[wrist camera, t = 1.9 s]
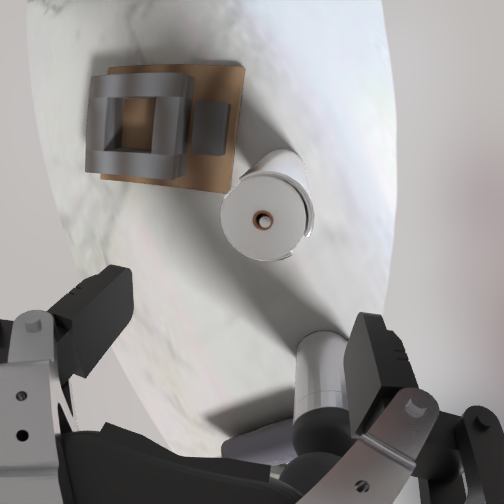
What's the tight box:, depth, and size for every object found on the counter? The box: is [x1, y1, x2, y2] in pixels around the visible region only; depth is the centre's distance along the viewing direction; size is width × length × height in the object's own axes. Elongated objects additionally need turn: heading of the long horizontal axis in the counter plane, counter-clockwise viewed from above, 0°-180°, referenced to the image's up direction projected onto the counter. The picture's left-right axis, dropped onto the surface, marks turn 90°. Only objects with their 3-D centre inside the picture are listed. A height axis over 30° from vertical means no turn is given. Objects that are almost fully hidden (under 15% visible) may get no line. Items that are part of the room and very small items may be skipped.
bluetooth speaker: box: [221, 418, 298, 466], centre depth 59 cm, size 23×9×10 cm, turn 125°
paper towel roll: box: [220, 149, 314, 262], centre depth 32 cm, size 6×6×25 cm
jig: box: [85, 64, 245, 194], centre depth 40 cm, size 21×18×6 cm
